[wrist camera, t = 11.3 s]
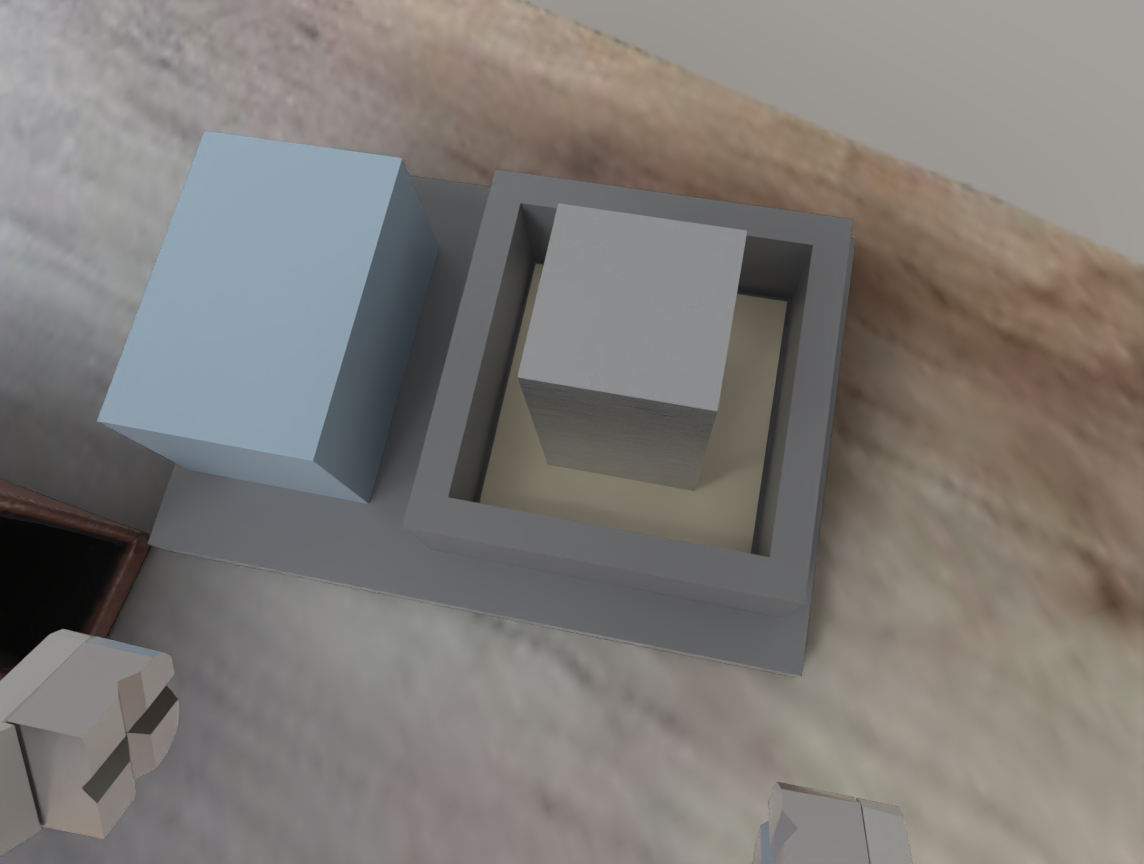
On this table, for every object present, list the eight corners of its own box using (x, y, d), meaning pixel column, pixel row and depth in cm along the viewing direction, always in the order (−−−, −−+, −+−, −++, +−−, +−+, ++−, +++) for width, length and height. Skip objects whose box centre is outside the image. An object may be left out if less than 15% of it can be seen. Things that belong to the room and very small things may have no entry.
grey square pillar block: (547, 464, 27) (517, 377, 20) (576, 330, 28) (558, 203, 21) (694, 491, 26) (717, 411, 19) (717, 353, 28) (747, 230, 21)
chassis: (166, 550, 28) (44, 509, 22) (291, 176, 32) (215, 57, 26) (794, 677, 26) (842, 668, 20) (847, 256, 30) (900, 145, 24)
